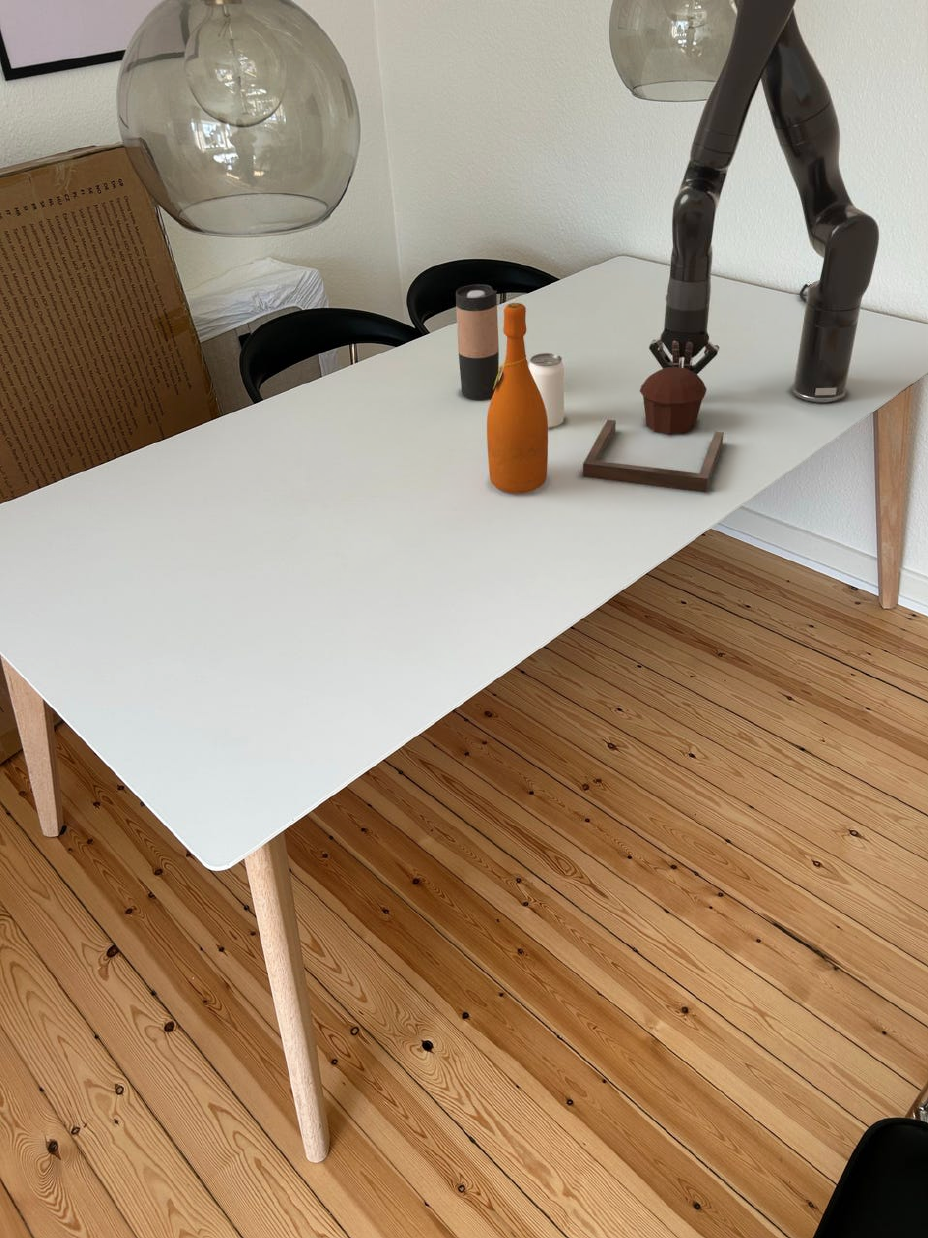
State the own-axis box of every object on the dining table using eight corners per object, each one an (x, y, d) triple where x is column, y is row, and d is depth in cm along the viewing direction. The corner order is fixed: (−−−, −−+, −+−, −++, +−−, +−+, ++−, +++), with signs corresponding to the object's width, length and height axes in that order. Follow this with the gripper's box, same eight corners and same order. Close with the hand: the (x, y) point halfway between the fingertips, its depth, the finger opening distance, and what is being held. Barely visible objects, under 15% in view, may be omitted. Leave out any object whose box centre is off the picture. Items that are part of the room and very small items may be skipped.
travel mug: (454, 398, 197) (448, 296, 185) (469, 382, 203) (464, 282, 191) (491, 403, 195) (488, 299, 183) (505, 387, 200) (502, 285, 188)
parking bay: (607, 432, 182) (607, 419, 181) (722, 445, 176) (724, 432, 175) (582, 476, 170) (583, 463, 168) (706, 492, 164) (707, 478, 162)
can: (561, 429, 184) (561, 366, 177) (526, 428, 185) (525, 365, 178) (565, 414, 189) (566, 352, 182) (531, 413, 190) (530, 351, 183)
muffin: (681, 405, 190) (685, 353, 184) (716, 428, 181) (721, 375, 175) (626, 419, 186) (628, 367, 180) (658, 443, 178) (662, 389, 172)
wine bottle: (517, 462, 175) (513, 288, 157) (560, 480, 169) (561, 301, 151) (476, 483, 170) (468, 306, 152) (520, 503, 164) (516, 321, 146)
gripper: (729, 296, 180) (719, 388, 191) (655, 291, 185) (649, 381, 195) (722, 311, 175) (712, 405, 185) (646, 305, 179) (640, 397, 189)
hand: (680, 392), depth 190 cm, fingers closed
